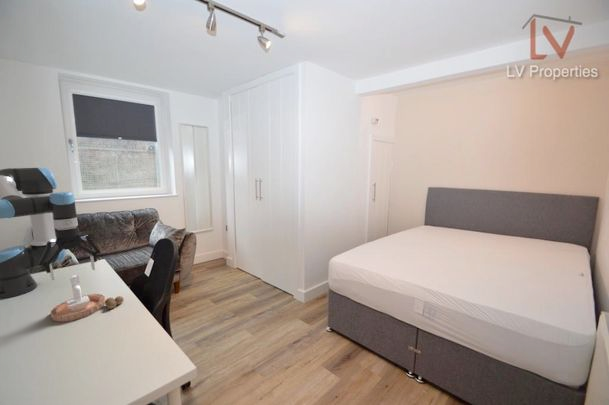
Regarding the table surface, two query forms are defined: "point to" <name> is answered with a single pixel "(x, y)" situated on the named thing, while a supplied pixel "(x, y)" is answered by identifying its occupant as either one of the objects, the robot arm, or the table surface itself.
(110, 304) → the wooden beads
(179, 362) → the table surface
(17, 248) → the robot arm
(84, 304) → the figurine
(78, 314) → the dish
